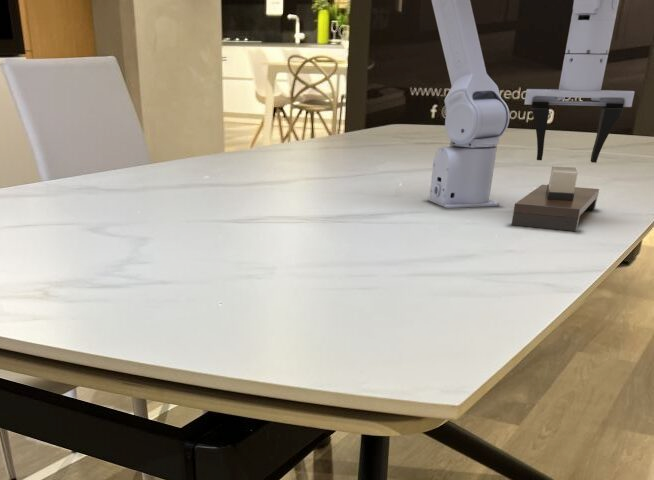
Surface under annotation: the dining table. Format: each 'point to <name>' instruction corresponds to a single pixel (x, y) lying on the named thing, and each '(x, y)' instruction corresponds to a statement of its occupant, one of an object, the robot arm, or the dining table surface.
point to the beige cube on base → (562, 183)
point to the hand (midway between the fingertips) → (566, 160)
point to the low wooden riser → (553, 209)
